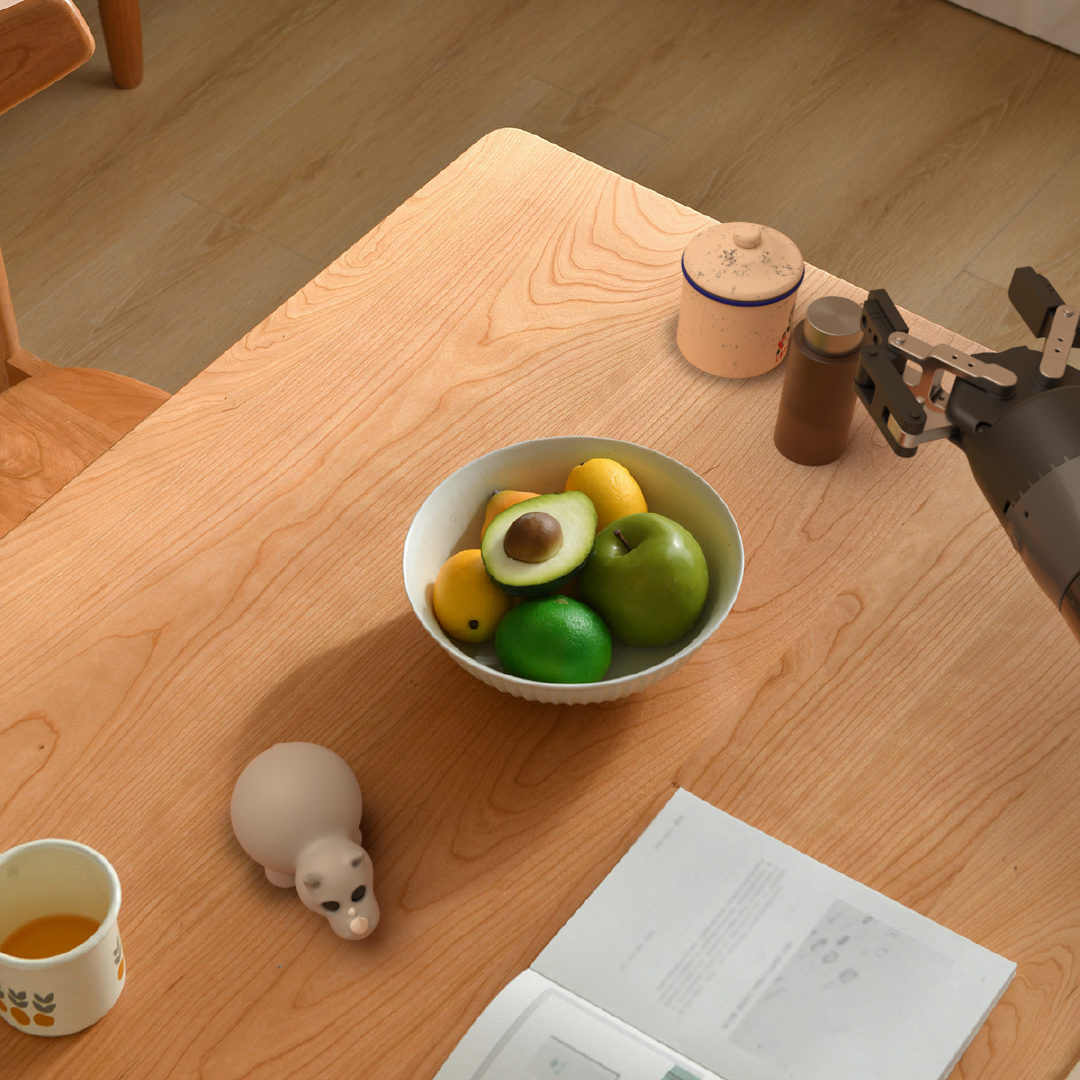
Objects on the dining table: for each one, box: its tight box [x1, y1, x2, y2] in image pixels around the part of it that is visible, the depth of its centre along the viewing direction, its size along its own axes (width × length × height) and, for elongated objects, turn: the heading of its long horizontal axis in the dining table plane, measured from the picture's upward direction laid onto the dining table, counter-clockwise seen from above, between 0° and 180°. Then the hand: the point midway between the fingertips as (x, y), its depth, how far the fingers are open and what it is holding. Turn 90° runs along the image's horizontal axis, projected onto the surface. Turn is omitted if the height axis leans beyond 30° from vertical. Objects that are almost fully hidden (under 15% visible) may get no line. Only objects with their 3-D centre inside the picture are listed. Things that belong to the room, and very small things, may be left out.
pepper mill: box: [773, 295, 870, 467], centre depth 95 cm, size 5×5×13 cm
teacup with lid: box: [676, 221, 806, 379], centre depth 103 cm, size 12×9×12 cm
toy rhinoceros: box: [229, 741, 381, 941], centre depth 74 cm, size 7×12×8 cm, turn 29°
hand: (944, 290), depth 74 cm, fingers open, 8 cm apart
